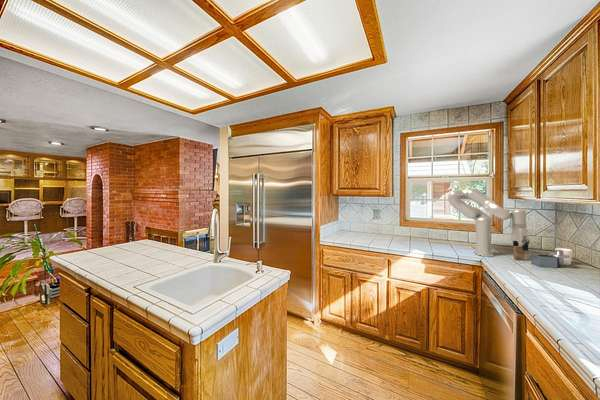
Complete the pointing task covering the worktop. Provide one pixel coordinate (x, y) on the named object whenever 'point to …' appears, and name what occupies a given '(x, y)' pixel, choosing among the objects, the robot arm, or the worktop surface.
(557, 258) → the grey boxy piece
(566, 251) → the white cup
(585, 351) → the worktop surface
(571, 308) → the worktop surface
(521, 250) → the wedge peg
